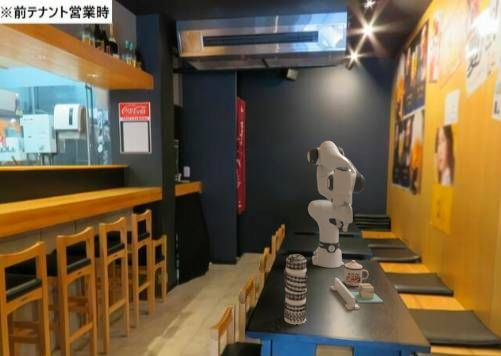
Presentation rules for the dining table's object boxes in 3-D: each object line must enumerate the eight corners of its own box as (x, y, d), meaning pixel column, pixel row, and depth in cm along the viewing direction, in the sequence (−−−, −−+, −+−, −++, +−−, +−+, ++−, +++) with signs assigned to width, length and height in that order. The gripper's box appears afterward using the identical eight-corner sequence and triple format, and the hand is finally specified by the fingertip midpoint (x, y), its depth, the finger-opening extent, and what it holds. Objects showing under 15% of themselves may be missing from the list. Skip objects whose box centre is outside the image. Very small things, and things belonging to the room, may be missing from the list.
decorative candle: (291, 311, 137) (292, 251, 135) (311, 318, 131) (312, 255, 130) (278, 319, 130) (279, 255, 128) (299, 327, 124) (300, 260, 123)
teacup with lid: (344, 285, 167) (344, 262, 166) (343, 279, 175) (343, 257, 175) (369, 287, 164) (370, 264, 164) (367, 281, 173) (367, 259, 173)
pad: (349, 293, 157) (349, 291, 157) (372, 293, 158) (372, 291, 158) (358, 302, 146) (358, 301, 146) (383, 302, 147) (383, 301, 147)
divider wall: (331, 288, 163) (331, 278, 163) (341, 288, 163) (341, 277, 163) (347, 309, 139) (348, 297, 139) (359, 309, 139) (359, 297, 139)
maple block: (358, 294, 154) (358, 283, 154) (369, 294, 154) (369, 283, 154) (362, 298, 149) (362, 287, 149) (373, 298, 149) (373, 287, 149)
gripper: (356, 203, 151) (355, 233, 152) (342, 198, 172) (341, 225, 172) (342, 203, 151) (342, 233, 152) (330, 198, 171) (329, 225, 172)
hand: (341, 229), depth 162 cm, fingers open, 8 cm apart
